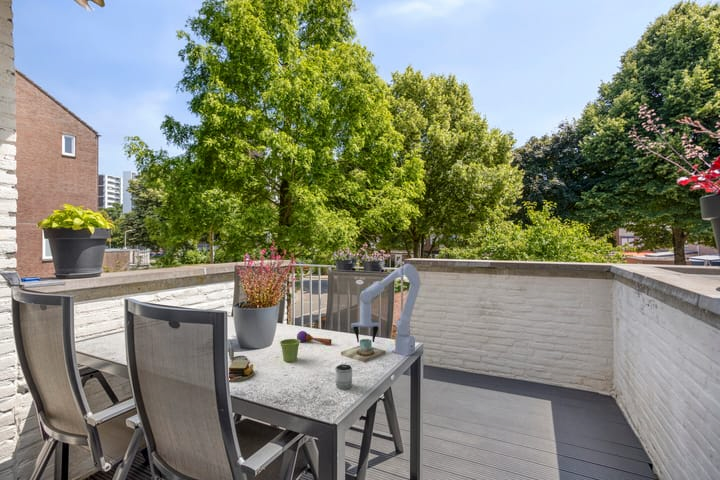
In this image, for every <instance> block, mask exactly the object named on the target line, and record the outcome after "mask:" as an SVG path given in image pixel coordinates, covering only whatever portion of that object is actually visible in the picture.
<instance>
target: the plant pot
mask: <svg viewBox="0 0 720 480" xmlns="http://www.w3.org/2000/svg"><path fill="white" fill-rule="evenodd" d="M300 343H301V342H300V340H298V339H297V338H287V339H283V340H280V341H279V344H280V347H281V352H282V358H283V362H286V363H287V362H290V363H293V362H295V361H297V359H298V352H299V346H300Z"/></svg>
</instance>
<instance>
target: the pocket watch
mask: <svg viewBox="0 0 720 480" xmlns="http://www.w3.org/2000/svg"><path fill="white" fill-rule="evenodd" d="M234 350H235V349H234V346H233V341H232V340H231V339H230V345H229V346H228V356H229V357H228V358H229V360H231V362H232V361H233V360H247V358H248V357H247V356H246V355H236V356H235V351H234Z"/></svg>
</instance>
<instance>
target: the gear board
mask: <svg viewBox="0 0 720 480" xmlns="http://www.w3.org/2000/svg"><path fill="white" fill-rule="evenodd" d="M364 342H367V340H364ZM386 353H387V352H386V350H384V349H381V348H376V347H374V346H372V348H371V349H367V346H364V349H360V345H357V346H354V347H352V348H349V349H345V350H342V351H341V352H340V355H341V356H343V357H347V358H350V359H353V360H356V361H359V362H361V363H362V362H363V363H366V362H369V361H371V360H374V359H375V358H379V357H381V356H383V355H386Z"/></svg>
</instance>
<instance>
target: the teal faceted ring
mask: <svg viewBox="0 0 720 480" xmlns="http://www.w3.org/2000/svg"><path fill="white" fill-rule="evenodd" d="M364 340H367V342H364ZM372 342H373V341H372V339H369V338H363V339H359V346H360V349H364V346H367V349H371V348H372V347H373V346H372V344H373V343H372Z"/></svg>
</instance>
